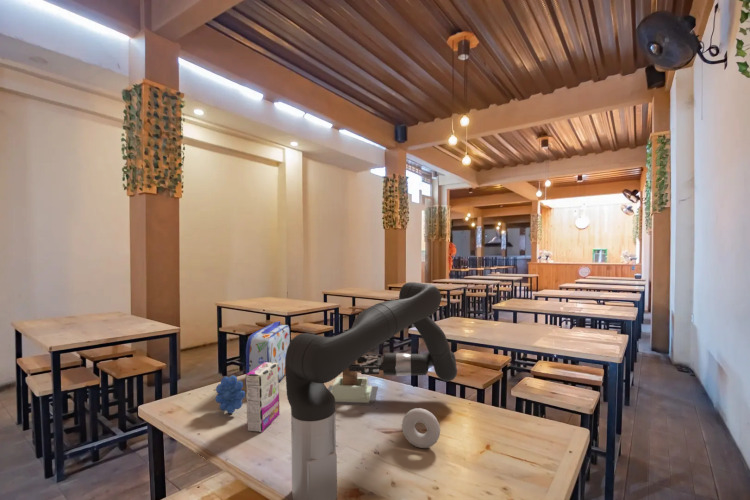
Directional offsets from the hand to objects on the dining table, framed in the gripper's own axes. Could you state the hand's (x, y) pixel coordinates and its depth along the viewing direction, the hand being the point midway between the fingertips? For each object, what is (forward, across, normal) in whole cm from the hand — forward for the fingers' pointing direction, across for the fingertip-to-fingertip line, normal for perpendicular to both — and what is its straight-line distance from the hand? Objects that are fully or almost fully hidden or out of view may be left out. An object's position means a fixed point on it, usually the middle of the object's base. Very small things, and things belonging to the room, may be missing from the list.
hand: (350, 363), depth 128 cm
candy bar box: (+23, +22, +11) cm, 33 cm away
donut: (-23, +32, +11) cm, 41 cm away
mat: (0, 0, +11) cm, 11 cm away
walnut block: (0, 0, +10) cm, 10 cm away
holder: (0, 0, +11) cm, 11 cm away
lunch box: (+34, -12, +11) cm, 37 cm away
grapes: (+36, +15, +11) cm, 40 cm away
